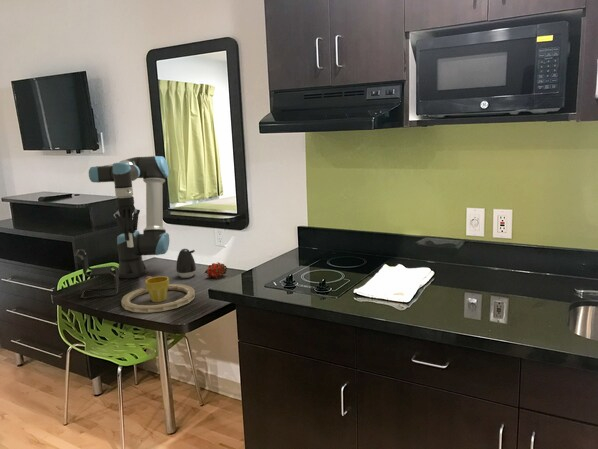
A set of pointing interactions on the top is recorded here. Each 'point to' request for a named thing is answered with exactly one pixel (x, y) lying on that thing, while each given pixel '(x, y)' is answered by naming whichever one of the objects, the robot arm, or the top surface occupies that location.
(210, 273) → the dragon fruit
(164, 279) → the plant pot
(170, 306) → the beige segmented ring
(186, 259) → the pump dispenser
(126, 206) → the robot arm
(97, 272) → the chair
